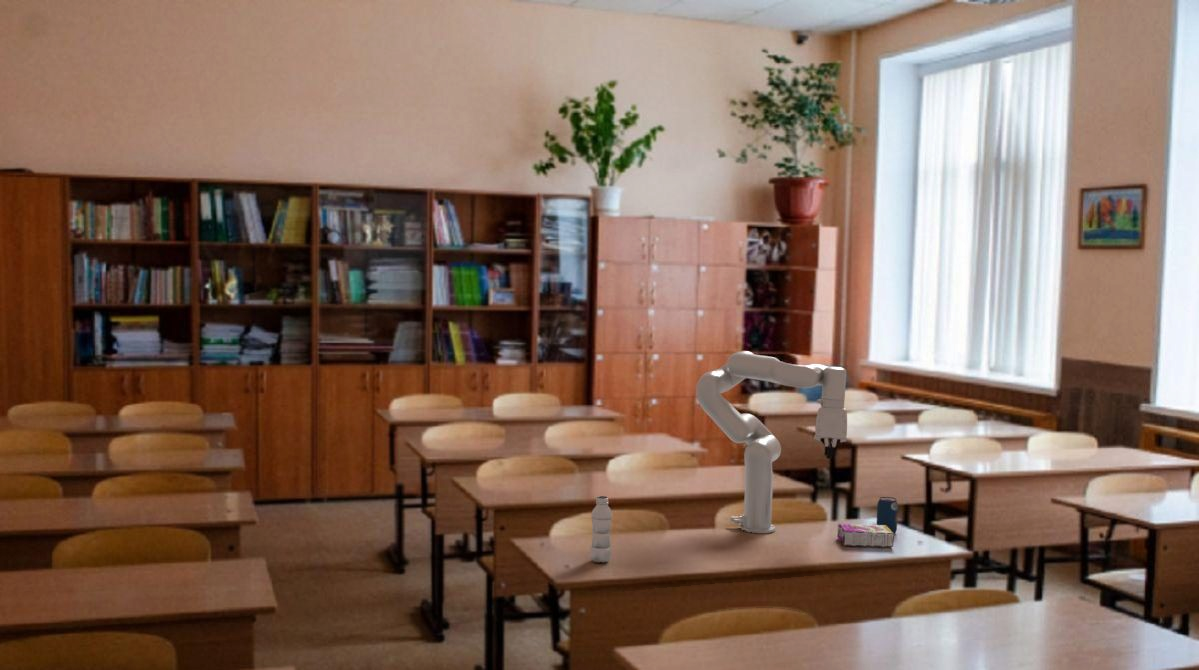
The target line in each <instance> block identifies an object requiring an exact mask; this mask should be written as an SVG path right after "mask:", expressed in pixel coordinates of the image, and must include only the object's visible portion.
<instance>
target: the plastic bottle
mask: <svg viewBox="0 0 1199 670" xmlns="http://www.w3.org/2000/svg"><path fill="white" fill-rule="evenodd" d="M595 499H596V500H595V504H596V505H595V506H594V508H593V509H592V510H591V511H592V512H591V525H592V537H591V538H592V539H591V546H590V551H589V557H590V559H591V561H592V562H594V563H600V562H601V563H607V562H609V561H610V560H611V555H612V549H611V539H610V538H611V537H610V536H611V535H610V534H611V533H610V532H611V524H612V520H613V512H612V510H611V508H610V507H609V497H608V496H605V495H599V496H596V498H595Z"/></svg>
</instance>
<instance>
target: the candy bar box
mask: <svg viewBox="0 0 1199 670" xmlns="http://www.w3.org/2000/svg"><path fill="white" fill-rule="evenodd" d="M894 536H895V534H894V533H893V532H892V531H891V530H890V529H889V528H888V527H887V526H886V525H876V524H861V523H860V524H853V523H838V524H837V538H838V539H839V541H840V542H841V543H842V545H843V546H845V545H849V546H848V547H861V546H877V547H876V548H885V547H891V548H894V541H895V540H894Z"/></svg>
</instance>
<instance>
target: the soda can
mask: <svg viewBox="0 0 1199 670" xmlns="http://www.w3.org/2000/svg"><path fill="white" fill-rule="evenodd" d="M898 513H899V503H898V501H897V498H895V497H890V496H880V497H879V500H877V506H876V524H875V525H886V526H887V527H888V528H889V529H890V530H891V531H892V532H893V533H894V535H895V533H897V530H898Z"/></svg>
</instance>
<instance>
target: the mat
mask: <svg viewBox="0 0 1199 670" xmlns="http://www.w3.org/2000/svg"><path fill="white" fill-rule="evenodd" d="M844 546H845V547H850V546H849V545H844ZM860 547H862V548H863V547H864V548H878V547H877V546H860ZM884 548H889V549H891V548H892V547H884Z"/></svg>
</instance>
